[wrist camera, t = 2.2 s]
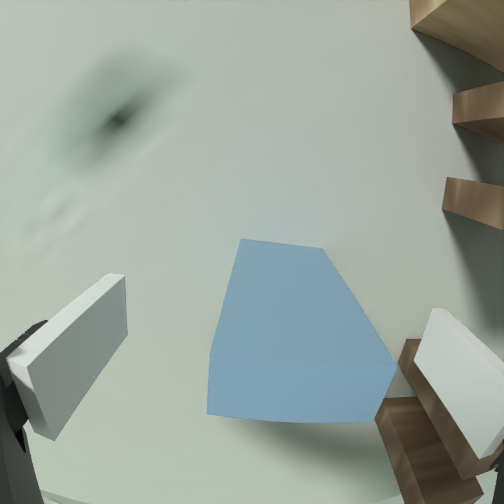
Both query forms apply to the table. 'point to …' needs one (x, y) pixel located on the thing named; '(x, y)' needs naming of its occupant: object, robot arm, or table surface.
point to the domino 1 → (294, 342)
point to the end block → (464, 26)
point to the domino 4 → (444, 418)
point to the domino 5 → (421, 456)
